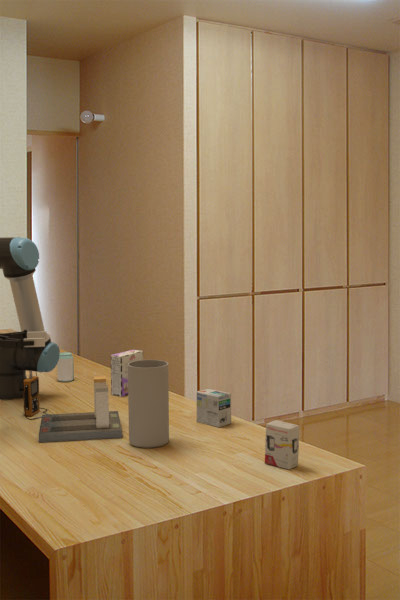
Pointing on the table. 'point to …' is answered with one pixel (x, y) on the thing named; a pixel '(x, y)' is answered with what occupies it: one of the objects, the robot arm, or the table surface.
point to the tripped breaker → (97, 382)
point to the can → (65, 367)
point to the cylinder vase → (148, 403)
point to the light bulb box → (214, 407)
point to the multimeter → (31, 394)
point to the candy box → (122, 370)
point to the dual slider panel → (83, 423)
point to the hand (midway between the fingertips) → (45, 338)
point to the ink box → (282, 444)
